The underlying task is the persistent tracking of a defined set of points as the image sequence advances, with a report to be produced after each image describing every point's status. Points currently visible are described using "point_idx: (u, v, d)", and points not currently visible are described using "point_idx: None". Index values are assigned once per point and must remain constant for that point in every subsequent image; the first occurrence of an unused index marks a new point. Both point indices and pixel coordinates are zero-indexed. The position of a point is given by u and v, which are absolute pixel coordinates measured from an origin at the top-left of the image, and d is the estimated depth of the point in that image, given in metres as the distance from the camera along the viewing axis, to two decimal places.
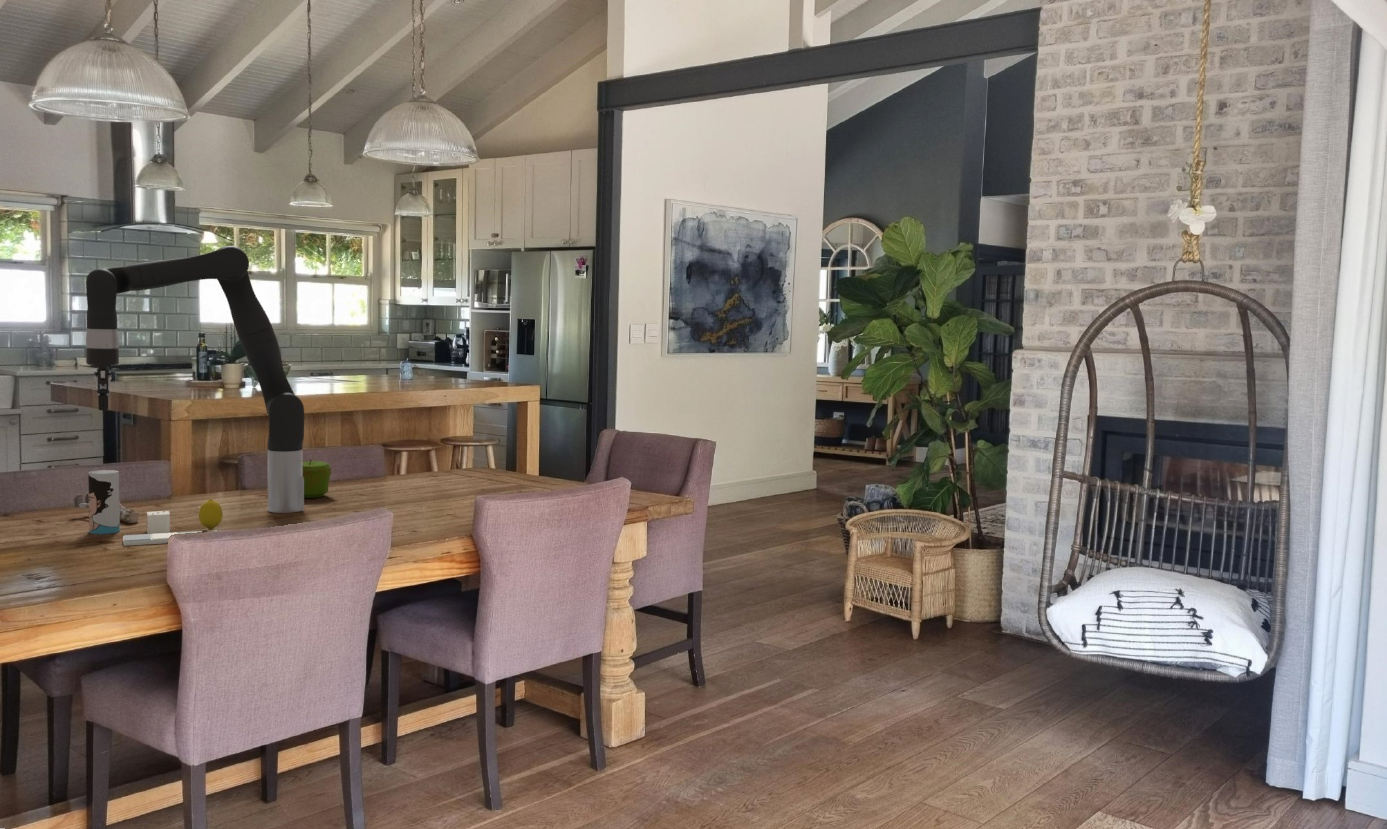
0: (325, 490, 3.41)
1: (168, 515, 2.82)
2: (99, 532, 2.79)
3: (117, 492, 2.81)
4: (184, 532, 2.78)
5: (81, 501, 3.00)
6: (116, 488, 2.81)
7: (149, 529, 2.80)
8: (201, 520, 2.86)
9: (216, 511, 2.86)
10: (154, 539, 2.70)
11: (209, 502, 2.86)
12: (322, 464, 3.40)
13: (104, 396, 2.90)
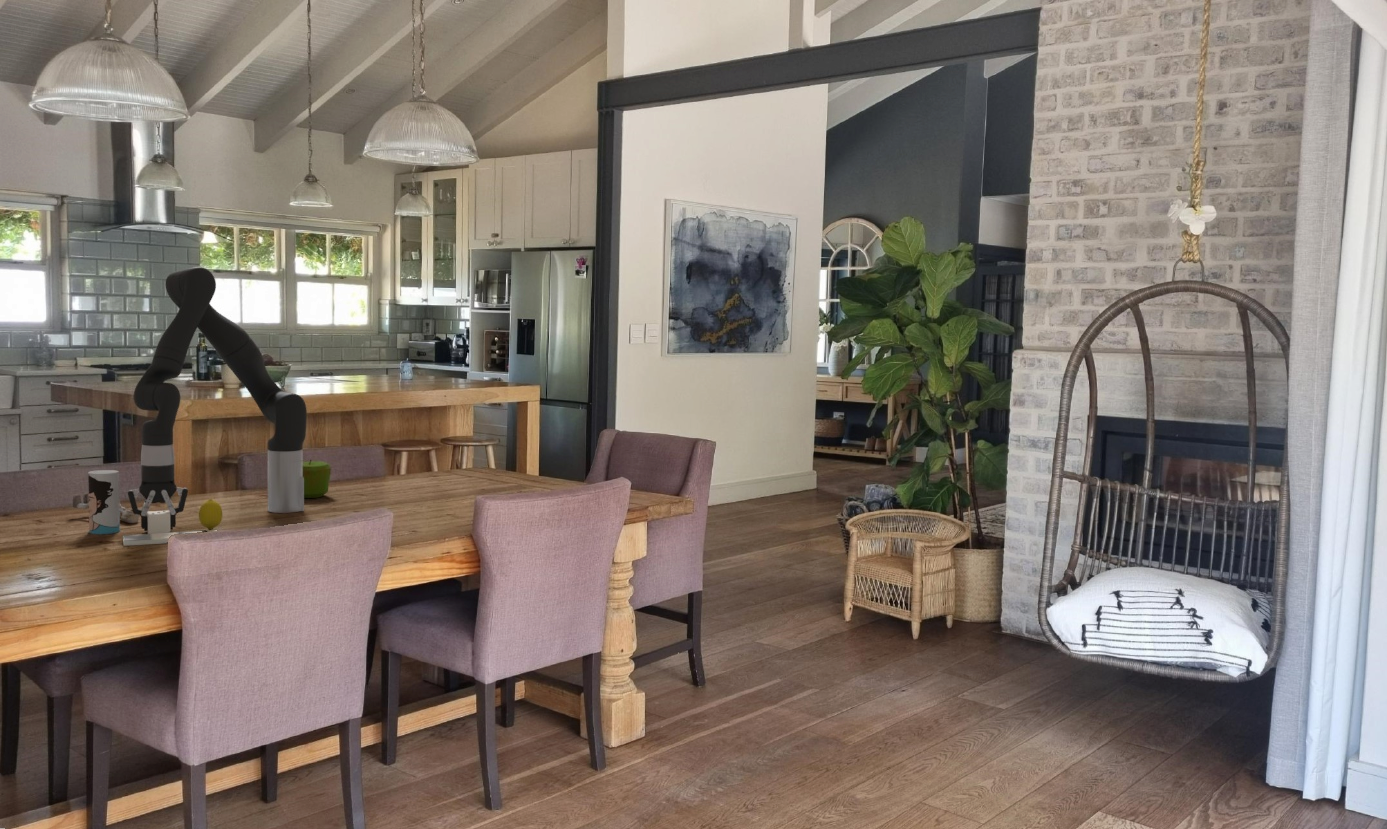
0: (325, 490, 3.41)
1: (168, 515, 2.82)
2: (99, 532, 2.79)
3: (117, 492, 2.81)
4: (184, 532, 2.78)
5: (79, 502, 2.99)
6: (116, 488, 2.81)
7: (149, 529, 2.80)
8: (201, 520, 2.86)
9: (216, 511, 2.86)
10: (154, 539, 2.70)
11: (209, 502, 2.86)
12: (322, 464, 3.40)
13: (175, 514, 2.85)
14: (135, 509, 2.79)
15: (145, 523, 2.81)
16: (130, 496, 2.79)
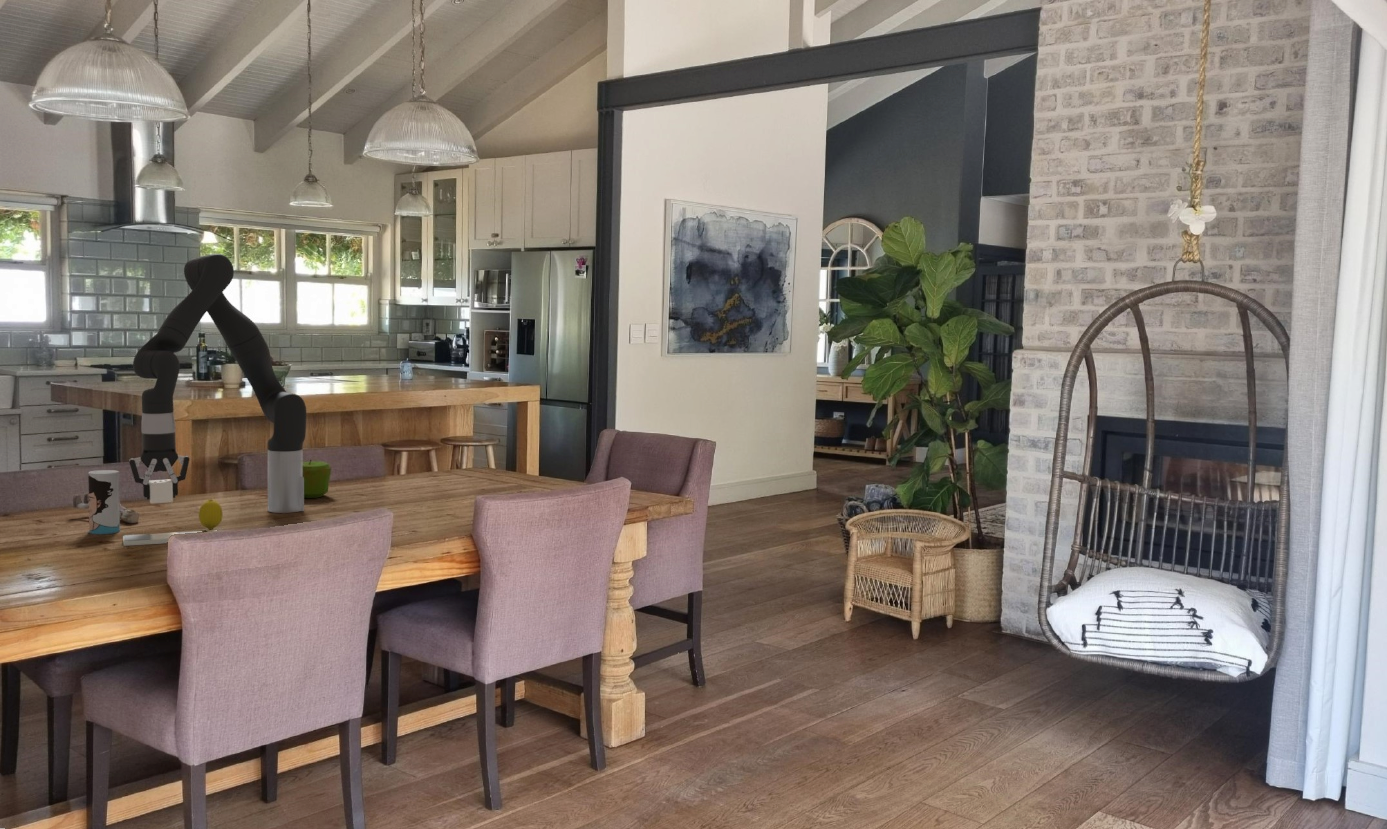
0: (325, 490, 3.41)
1: (171, 483, 2.81)
2: (99, 532, 2.79)
3: (117, 492, 2.81)
4: (184, 532, 2.78)
5: (80, 502, 2.99)
6: (116, 488, 2.81)
7: (152, 497, 2.79)
8: (201, 520, 2.86)
9: (216, 511, 2.86)
10: (154, 539, 2.70)
11: (209, 502, 2.86)
12: (322, 464, 3.40)
13: (177, 482, 2.84)
14: (137, 478, 2.79)
15: (147, 492, 2.80)
16: (132, 465, 2.78)
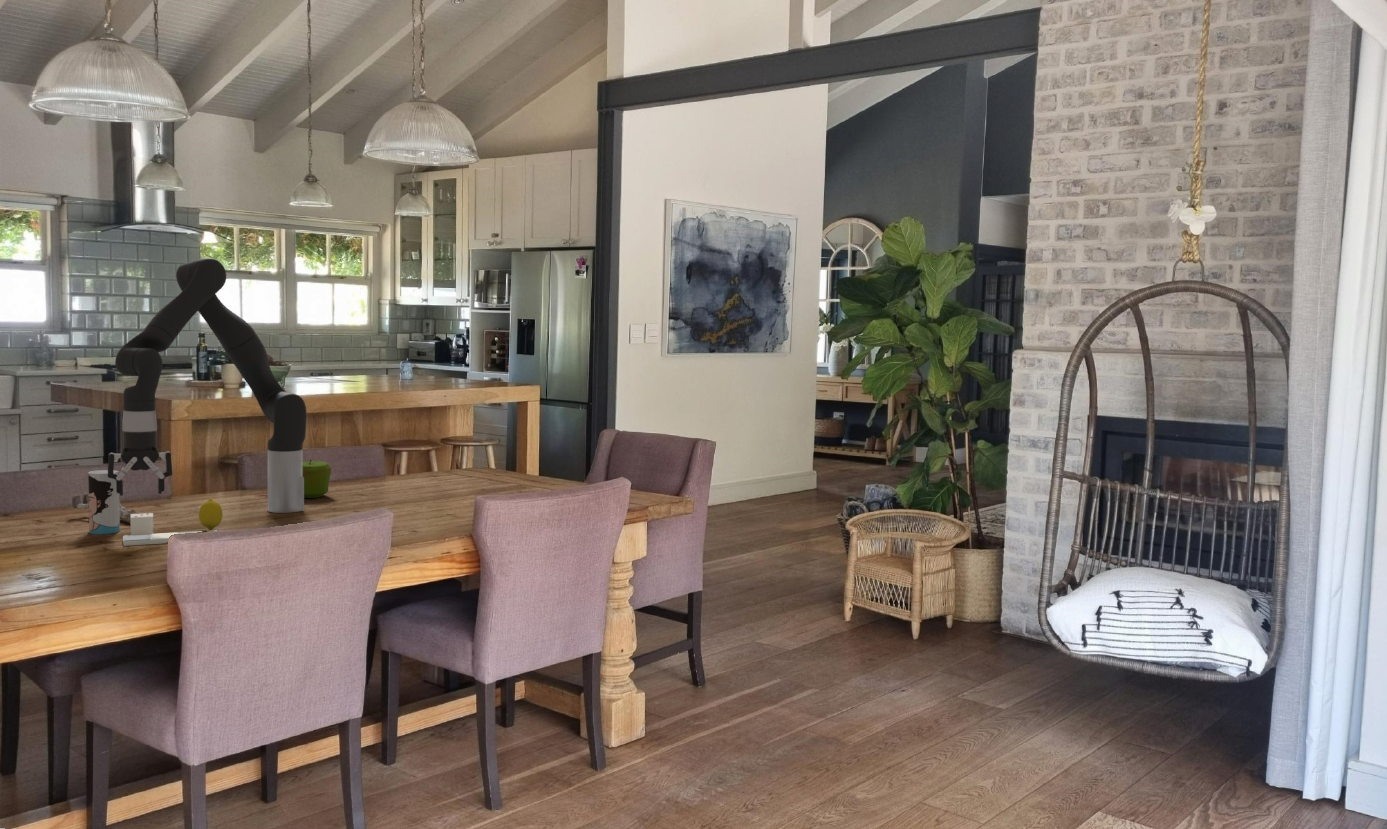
0: (325, 490, 3.41)
1: (151, 517, 2.78)
2: (99, 532, 2.79)
3: None
4: (184, 532, 2.78)
5: (79, 502, 2.99)
6: None
7: (132, 531, 2.77)
8: (201, 520, 2.86)
9: (216, 511, 2.86)
10: (154, 539, 2.70)
11: (209, 502, 2.86)
12: (322, 464, 3.40)
13: (164, 478, 2.81)
14: (110, 473, 2.74)
15: (120, 487, 2.76)
16: (110, 459, 2.74)
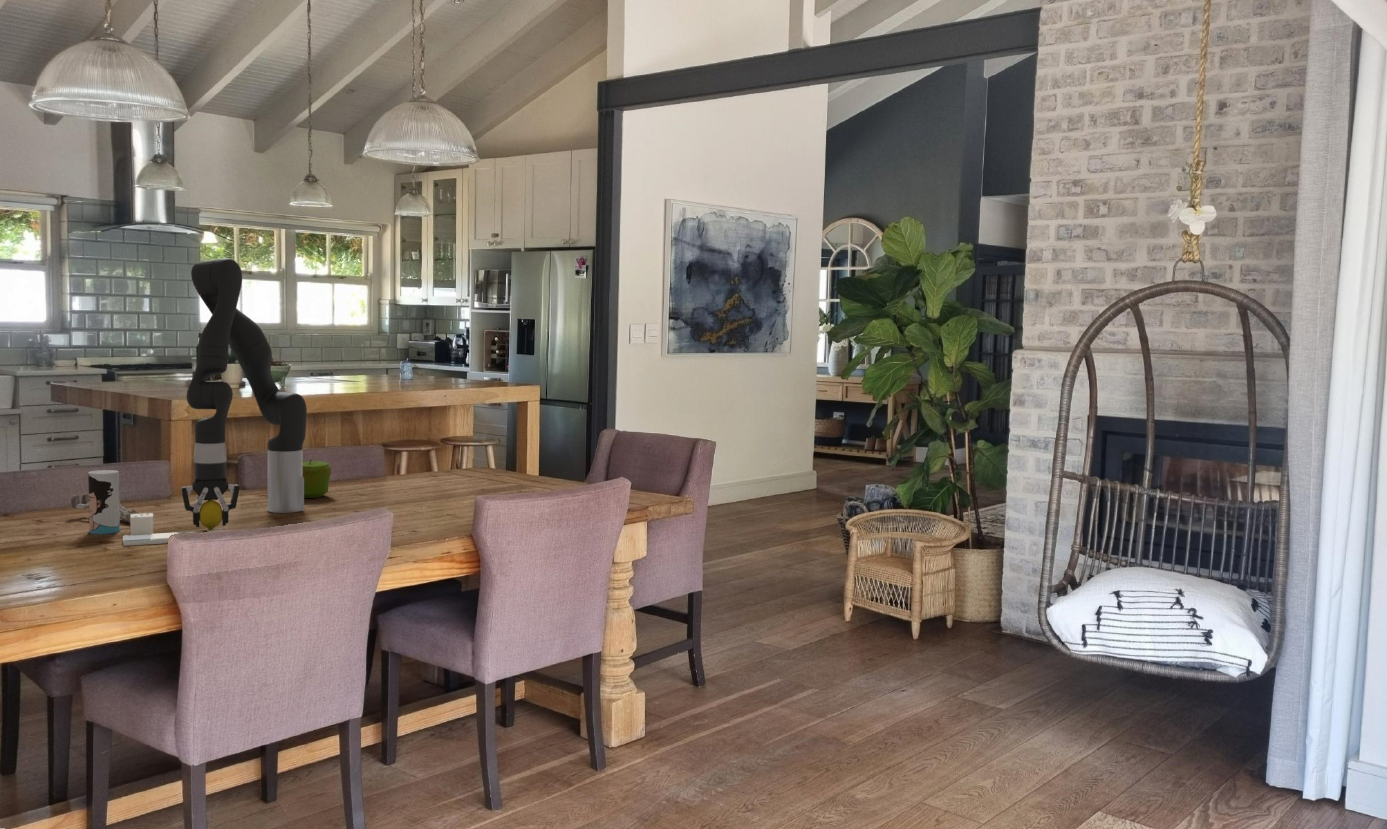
0: (325, 490, 3.41)
1: (151, 517, 2.78)
2: (99, 532, 2.79)
3: (117, 492, 2.81)
4: (184, 532, 2.78)
5: (78, 502, 2.98)
6: (116, 488, 2.81)
7: (132, 531, 2.77)
8: (201, 520, 2.86)
9: (216, 511, 2.86)
10: (154, 539, 2.70)
11: (209, 502, 2.86)
12: (322, 464, 3.40)
13: None
14: (187, 506, 2.84)
15: (197, 519, 2.85)
16: (183, 493, 2.83)
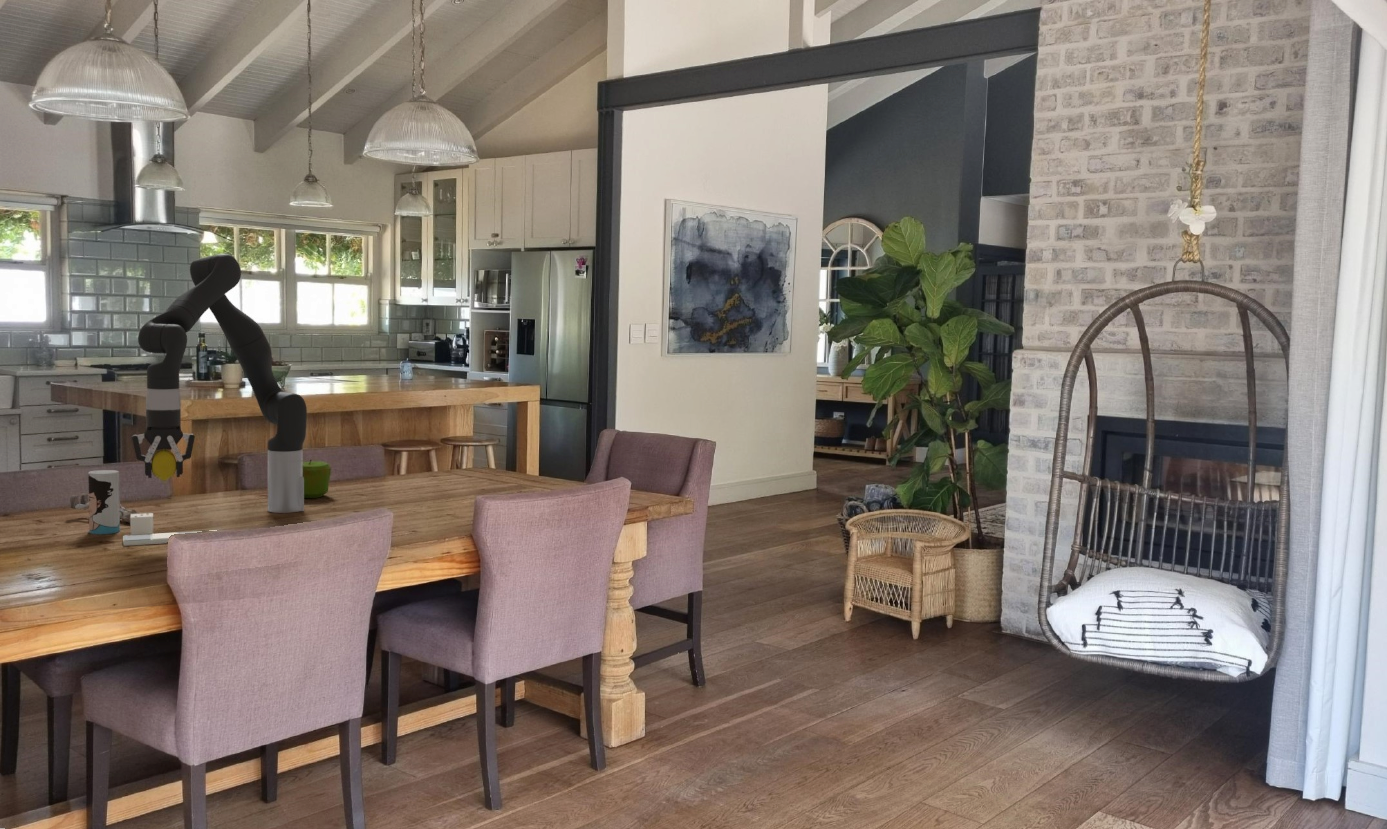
0: (325, 490, 3.41)
1: (151, 517, 2.78)
2: (99, 532, 2.79)
3: (117, 492, 2.81)
4: (184, 532, 2.78)
5: (77, 502, 2.98)
6: (116, 488, 2.81)
7: (132, 531, 2.77)
8: (153, 470, 2.70)
9: (169, 461, 2.71)
10: (154, 539, 2.70)
11: (162, 451, 2.71)
12: (322, 464, 3.40)
13: (182, 461, 2.75)
14: (139, 455, 2.69)
15: (149, 470, 2.70)
16: (134, 441, 2.68)
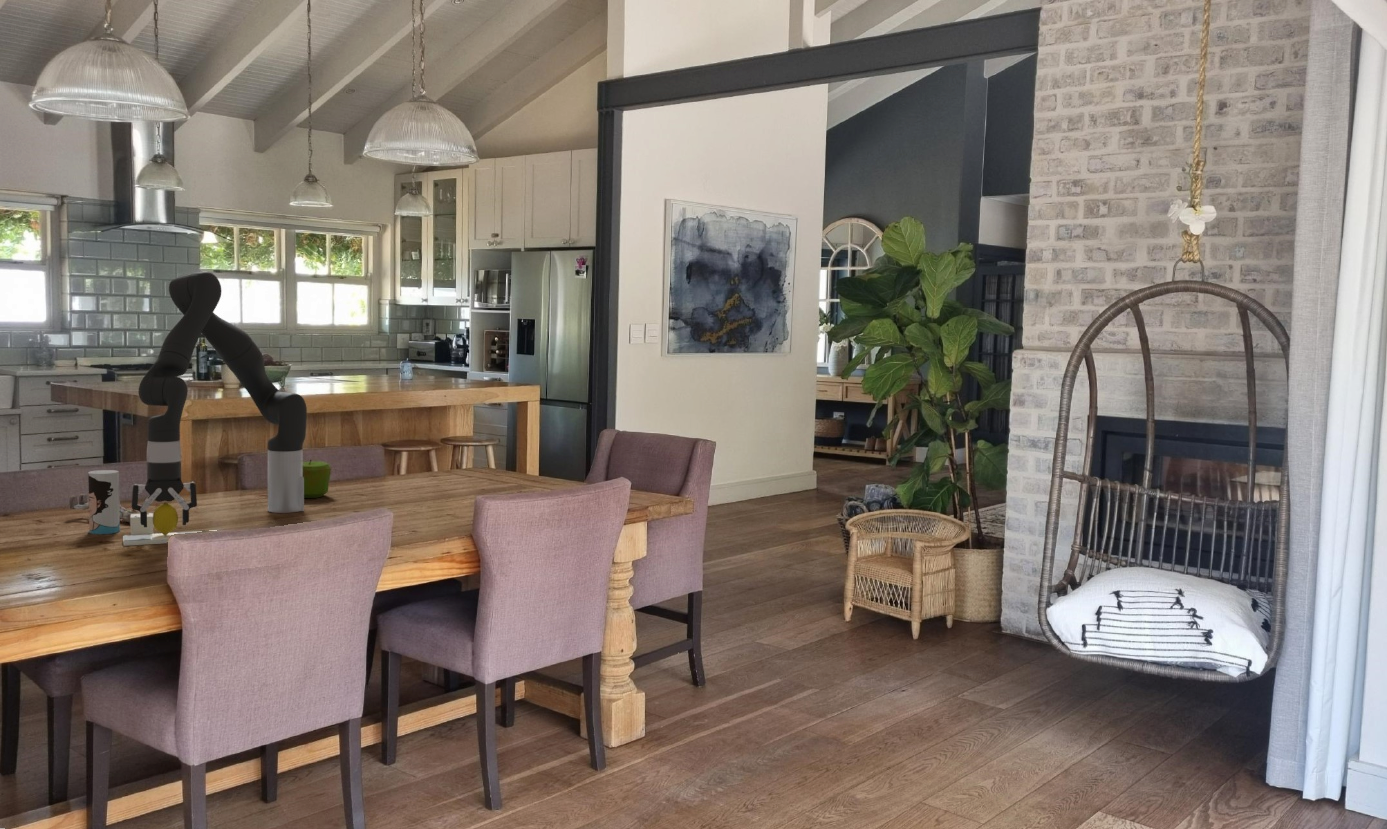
0: (325, 490, 3.41)
1: (151, 517, 2.78)
2: (99, 532, 2.79)
3: (117, 492, 2.81)
4: (184, 532, 2.78)
5: (76, 503, 2.97)
6: (116, 488, 2.81)
7: (132, 531, 2.77)
8: (155, 524, 2.72)
9: (171, 515, 2.72)
10: (154, 539, 2.70)
11: (164, 505, 2.73)
12: (322, 464, 3.40)
13: (188, 509, 2.76)
14: (134, 505, 2.69)
15: (144, 519, 2.71)
16: (134, 490, 2.69)
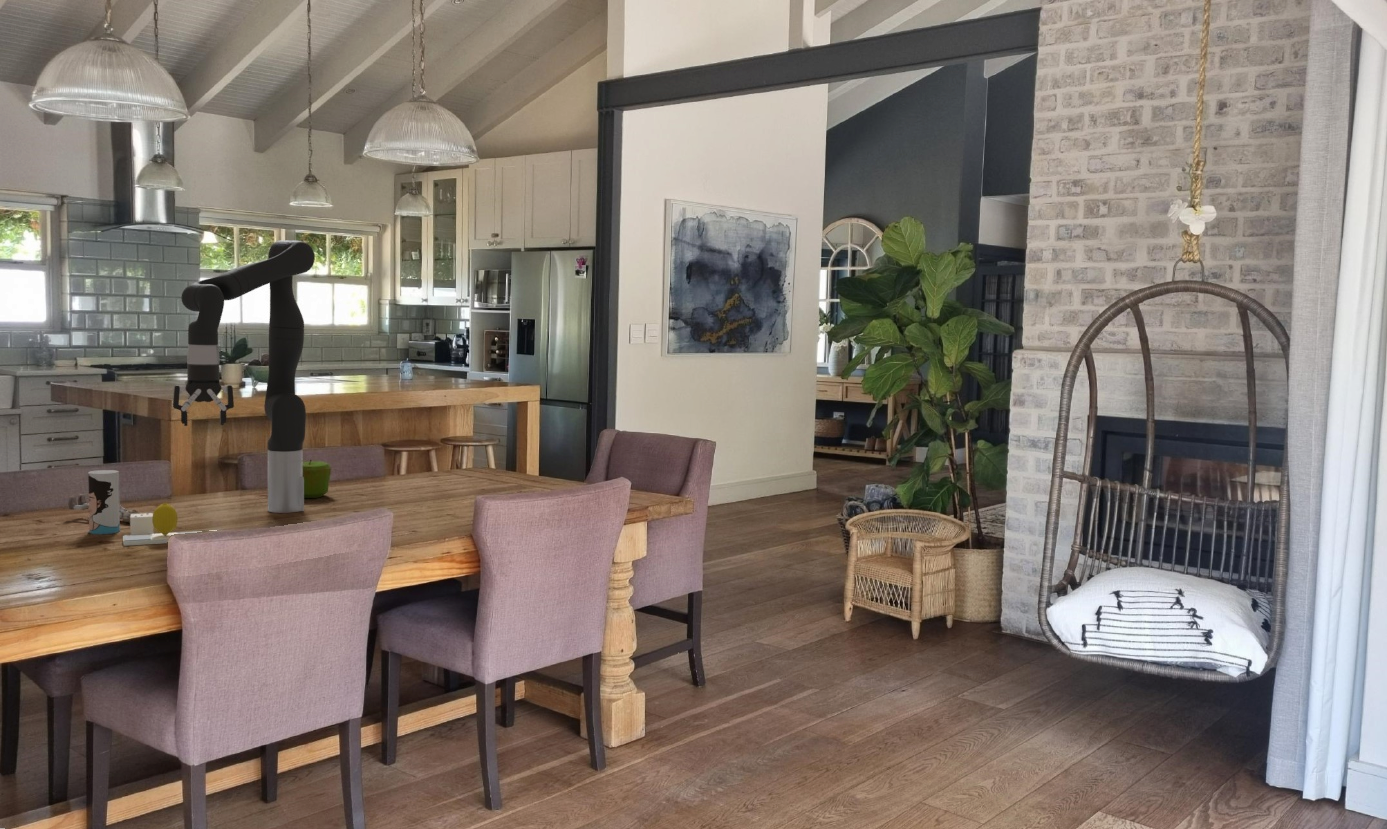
0: (325, 490, 3.41)
1: (151, 517, 2.78)
2: (99, 532, 2.79)
3: (117, 492, 2.81)
4: (184, 532, 2.78)
5: (75, 503, 2.96)
6: (116, 488, 2.81)
7: (132, 531, 2.77)
8: (155, 525, 2.72)
9: (170, 515, 2.72)
10: (154, 539, 2.70)
11: (163, 506, 2.72)
12: (322, 464, 3.40)
13: (226, 410, 2.94)
14: (175, 404, 2.87)
15: (185, 418, 2.88)
16: (176, 390, 2.87)
